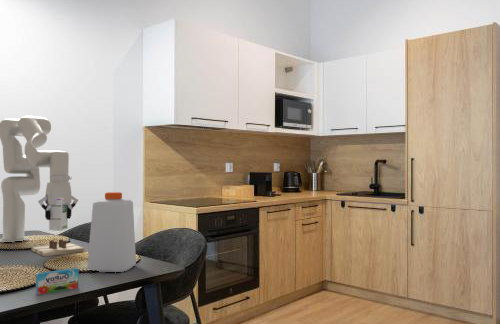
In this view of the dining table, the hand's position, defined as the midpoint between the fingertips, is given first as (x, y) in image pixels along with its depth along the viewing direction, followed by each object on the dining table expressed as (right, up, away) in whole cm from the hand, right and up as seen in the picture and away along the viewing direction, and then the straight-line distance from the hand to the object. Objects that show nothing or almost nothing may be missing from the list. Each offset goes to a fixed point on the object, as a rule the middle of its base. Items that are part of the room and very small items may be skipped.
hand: (58, 218), depth 196 cm
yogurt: (+26, -14, -62) cm, 69 cm away
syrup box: (0, -5, 0) cm, 5 cm away
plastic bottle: (+33, -14, -32) cm, 48 cm away
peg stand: (0, -14, 0) cm, 14 cm away
